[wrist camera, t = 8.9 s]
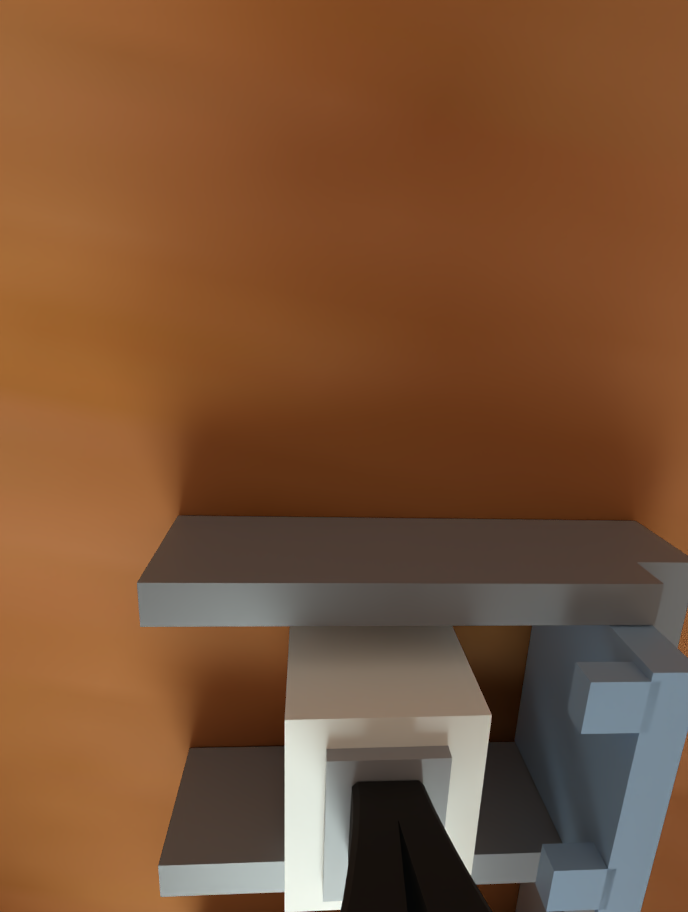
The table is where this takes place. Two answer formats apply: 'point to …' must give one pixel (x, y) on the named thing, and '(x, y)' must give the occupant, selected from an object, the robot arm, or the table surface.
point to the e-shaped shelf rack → (455, 604)
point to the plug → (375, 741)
